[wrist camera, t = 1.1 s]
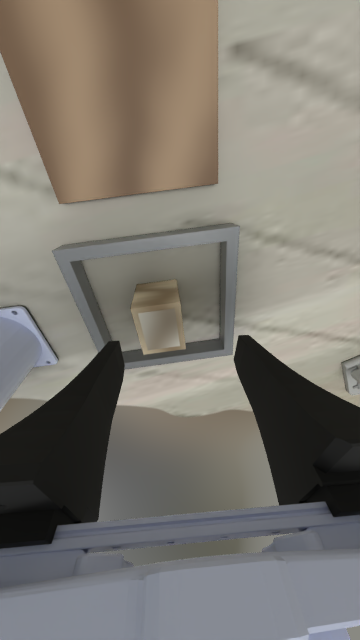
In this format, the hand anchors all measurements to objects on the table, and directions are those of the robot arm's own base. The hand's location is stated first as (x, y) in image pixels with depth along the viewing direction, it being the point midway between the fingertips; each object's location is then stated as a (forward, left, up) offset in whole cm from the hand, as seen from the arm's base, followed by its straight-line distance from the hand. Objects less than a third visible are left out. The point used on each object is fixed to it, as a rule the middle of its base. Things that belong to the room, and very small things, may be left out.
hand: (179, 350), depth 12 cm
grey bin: (-2, -2, -10) cm, 10 cm away
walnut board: (-2, +13, -10) cm, 16 cm away
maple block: (-2, -2, -10) cm, 10 cm away
